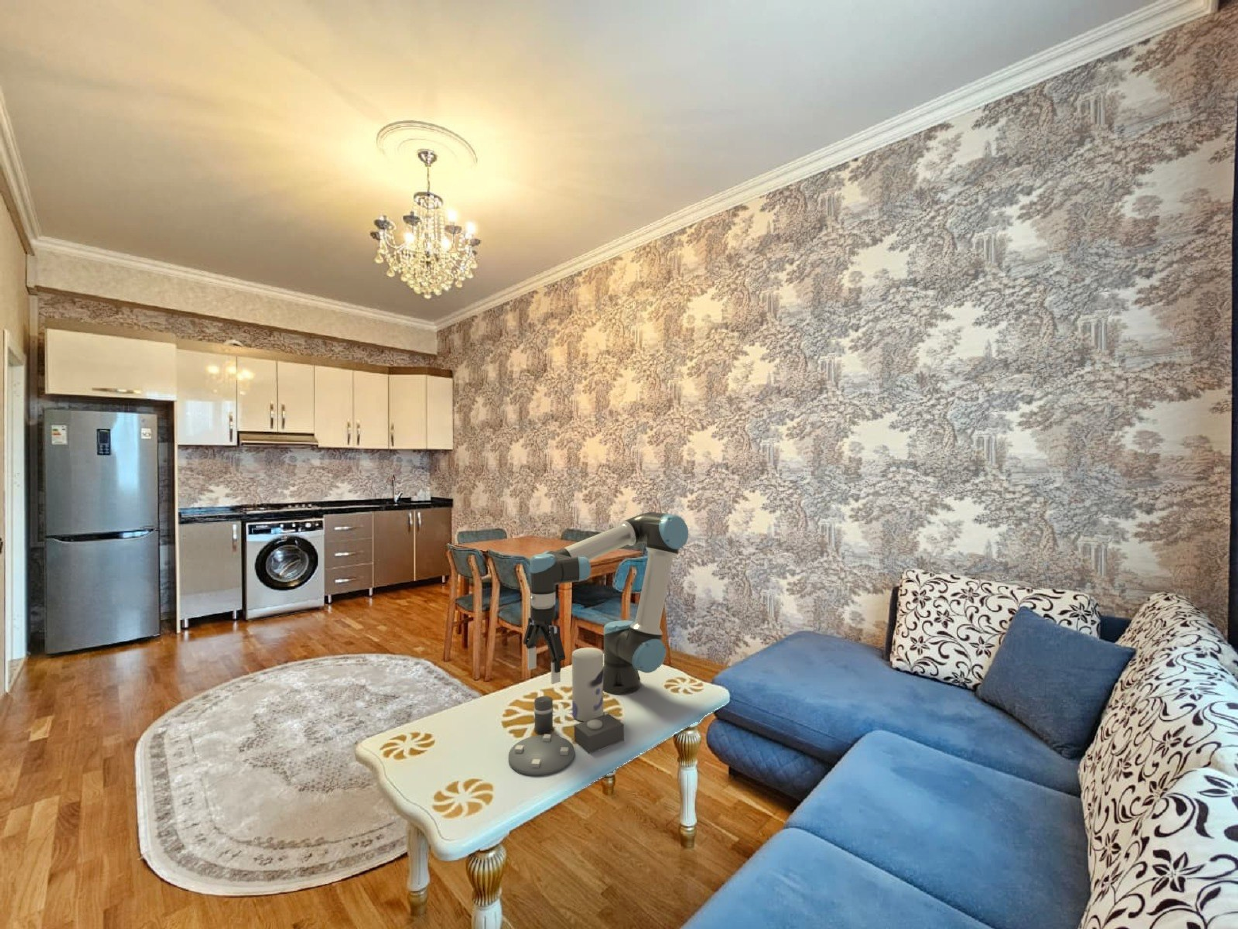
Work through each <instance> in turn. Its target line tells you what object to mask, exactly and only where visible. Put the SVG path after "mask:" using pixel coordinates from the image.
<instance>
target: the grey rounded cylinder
mask: <svg viewBox="0 0 1238 929" xmlns="http://www.w3.org/2000/svg"><path fill="white" fill-rule="evenodd" d="M553 700H554V699H553V698H552V697H551V696H548V695H541V696H537V697H536V698H535V699H534V706H533V711H534V732H535V733H536V734H538V735H544V734H551V733H552V732H553V730H554V726H553V725H554V723H553V720H554V717H553V716H554V714H553V712H554V705H553V704H554V703H553Z"/></svg>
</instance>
